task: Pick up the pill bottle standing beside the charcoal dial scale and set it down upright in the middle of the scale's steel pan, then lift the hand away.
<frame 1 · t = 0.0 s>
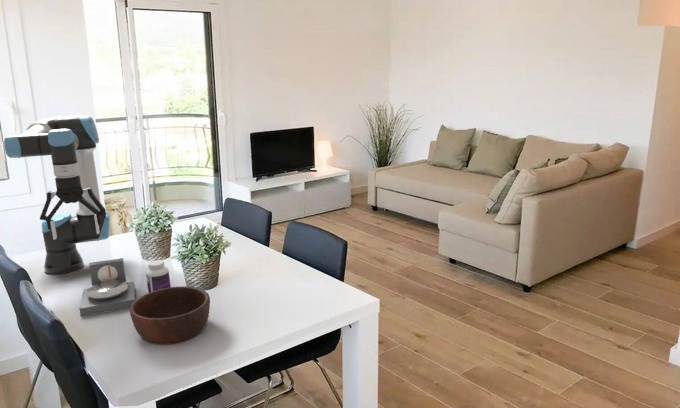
hand: (76, 235, 186), 28 cm above the table, tool pointing down, fingers open, 13 cm apart
wooden bowl: (173, 330, 177), on the table
scale pan: (107, 290, 198), point 4 cm above the table, slide at 0.8 cm
dial scale: (109, 301, 199), on the table
pill bottle: (160, 299, 201), on the table
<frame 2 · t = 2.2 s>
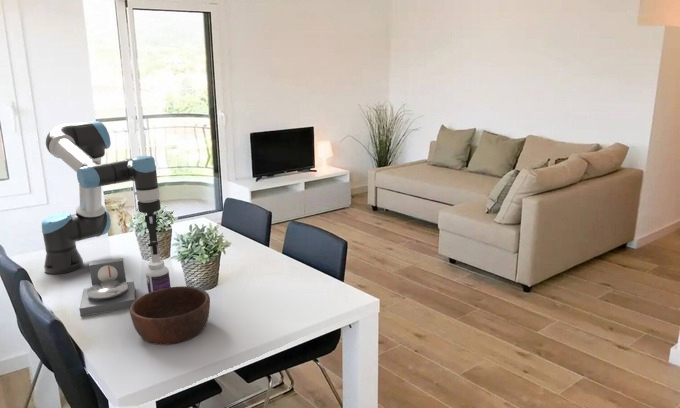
hand: (155, 256, 196), 17 cm above the table, tool pointing down, fingers open, 13 cm apart
nothing on the table moved.
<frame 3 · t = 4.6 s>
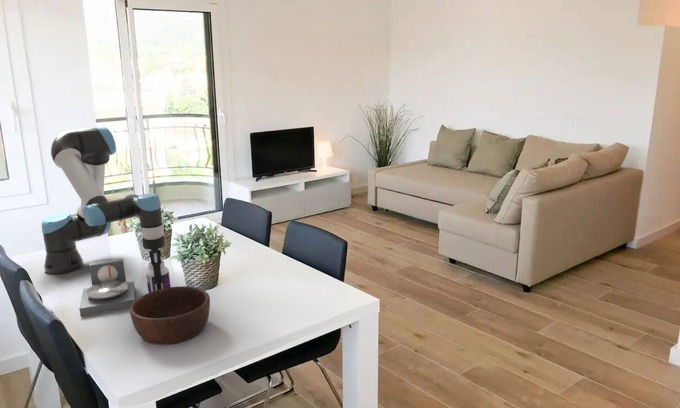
hand: (160, 294, 200), 2 cm above the table, tool pointing down, fingers closed on pill bottle, 8 cm apart
pill bottle: (160, 299, 201), on the table, touching gripper
everything else where it was.
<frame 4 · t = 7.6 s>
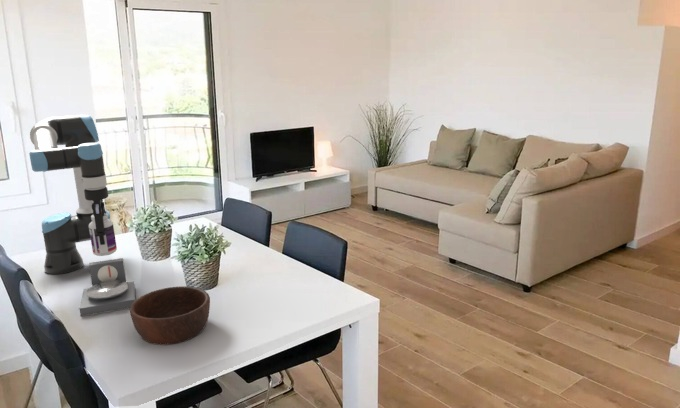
hand: (104, 248, 194), 21 cm above the table, tool pointing down, fingers closed on pill bottle, 8 cm apart
pill bottle: (105, 253, 195), point 19 cm above the table, touching gripper
everything else where it was.
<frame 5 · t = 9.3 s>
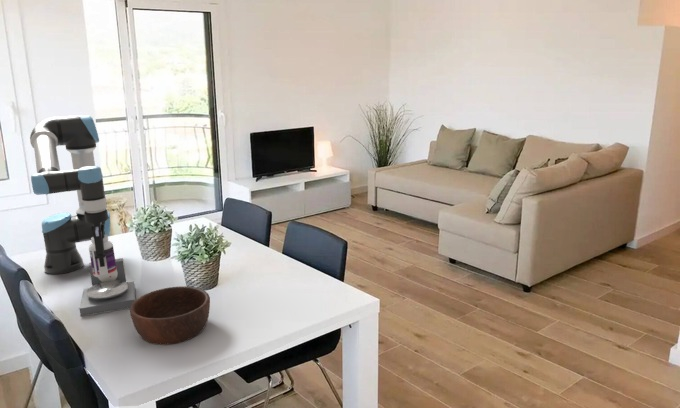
hand: (104, 269, 196), 13 cm above the table, tool pointing down, fingers closed on pill bottle, 8 cm apart
pill bottle: (105, 274, 196), point 11 cm above the table, touching gripper
everything else where it was.
when the fingers open (9 cm above the table, at t = 10.8 s): pill bottle drops 2 cm, resting on scale pan.
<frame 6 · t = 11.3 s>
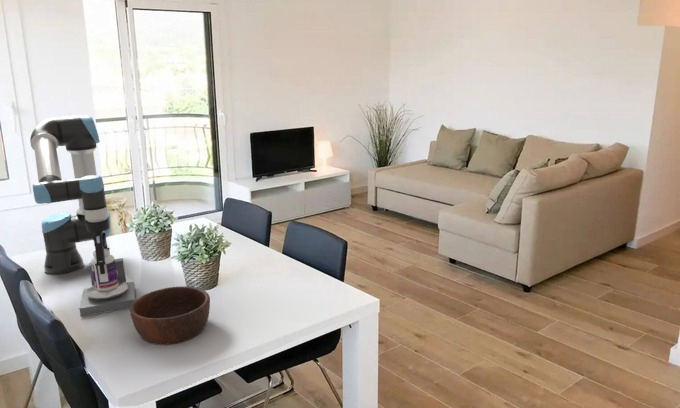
hand: (105, 274, 197), 11 cm above the table, tool pointing down, fingers open, 13 cm apart
scale pan: (107, 291, 198), point 4 cm above the table, slide at 0.9 cm, touching pill bottle
pill bottle: (107, 288, 198), point 5 cm above the table, touching scale pan
everything else where it was.
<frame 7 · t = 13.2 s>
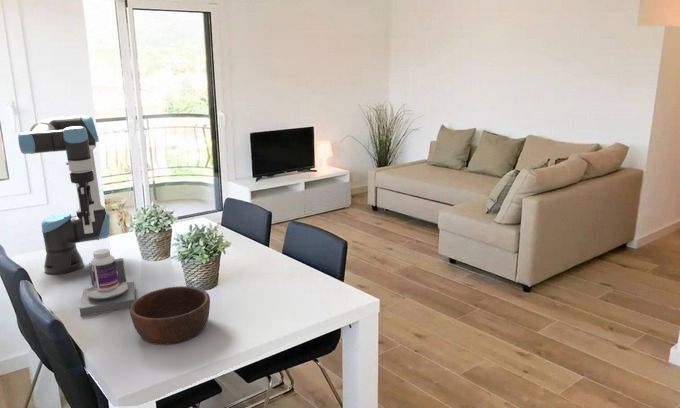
hand: (89, 227, 197), 28 cm above the table, tool pointing down, fingers open, 13 cm apart
nothing on the table moved.
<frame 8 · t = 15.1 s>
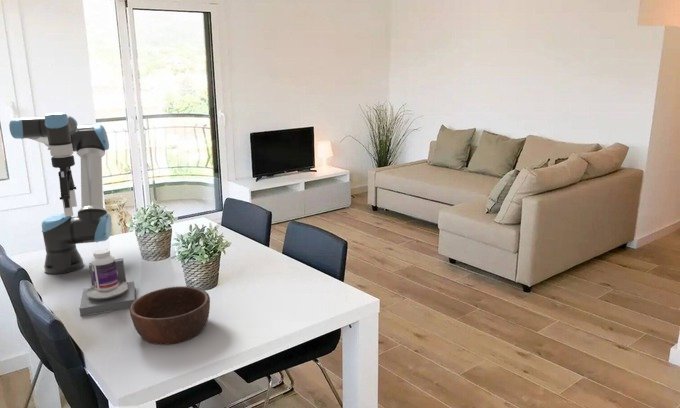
hand: (71, 211, 203), 32 cm above the table, tool pointing down, fingers open, 13 cm apart
nothing on the table moved.
at the end: pill bottle inside the target area on the dial scale (0.2 cm from its centre), point 5.1 cm above the dial scale's base; pill bottle tilted 0°; pill bottle touching scale pan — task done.
